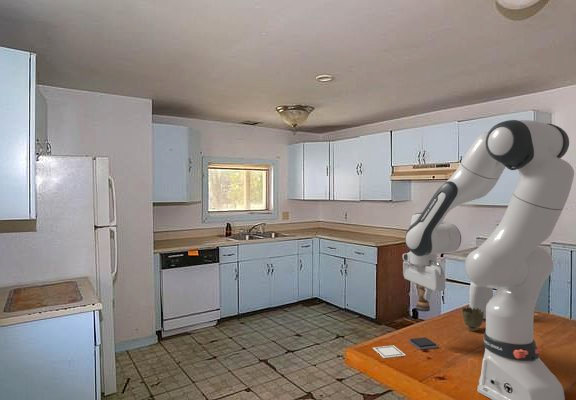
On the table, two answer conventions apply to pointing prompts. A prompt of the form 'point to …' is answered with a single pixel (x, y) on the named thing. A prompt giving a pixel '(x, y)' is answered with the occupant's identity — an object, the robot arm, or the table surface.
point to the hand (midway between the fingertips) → (423, 297)
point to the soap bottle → (479, 297)
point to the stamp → (422, 300)
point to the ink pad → (423, 343)
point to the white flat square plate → (389, 351)
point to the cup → (473, 318)
